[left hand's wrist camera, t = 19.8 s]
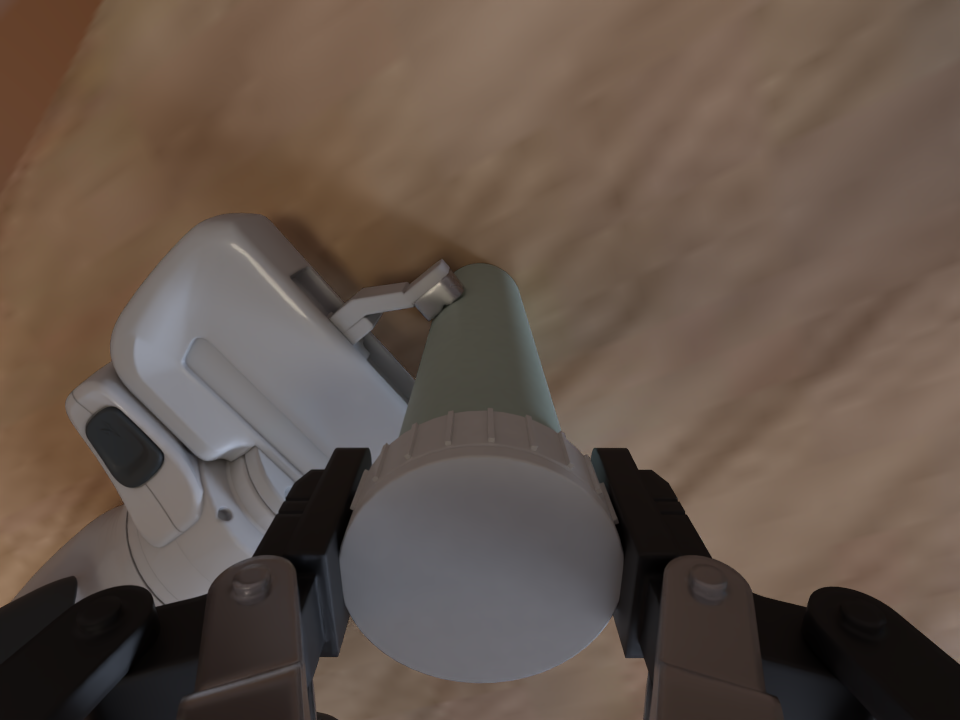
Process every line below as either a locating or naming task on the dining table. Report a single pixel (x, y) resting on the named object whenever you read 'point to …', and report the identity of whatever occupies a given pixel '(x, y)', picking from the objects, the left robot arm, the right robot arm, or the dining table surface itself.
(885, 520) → the dining table surface
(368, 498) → the lid
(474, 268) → the bottle
